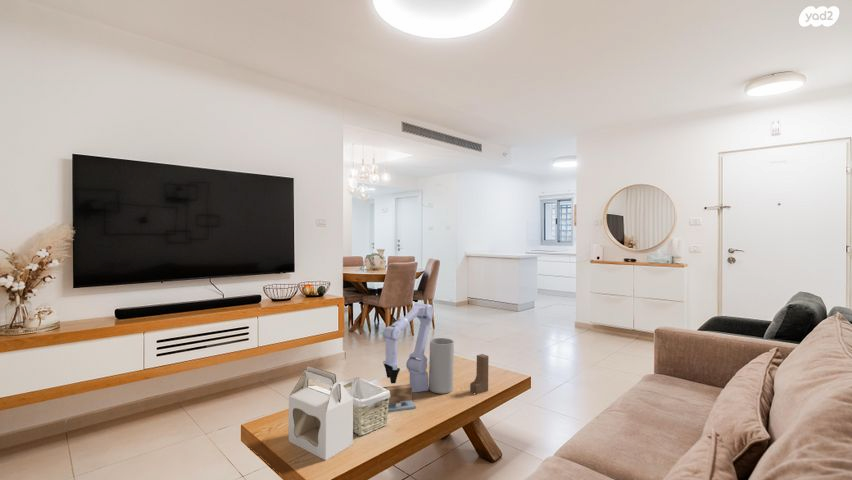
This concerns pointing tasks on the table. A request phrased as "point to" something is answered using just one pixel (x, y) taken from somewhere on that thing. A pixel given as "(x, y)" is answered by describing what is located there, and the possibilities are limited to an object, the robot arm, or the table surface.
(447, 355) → the cylinder vase
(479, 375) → the wooden block
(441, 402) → the table surface
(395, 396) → the walnut plank
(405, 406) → the blue-grey flat rectangular panel
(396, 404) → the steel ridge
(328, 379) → the gable box
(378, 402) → the storage basket
